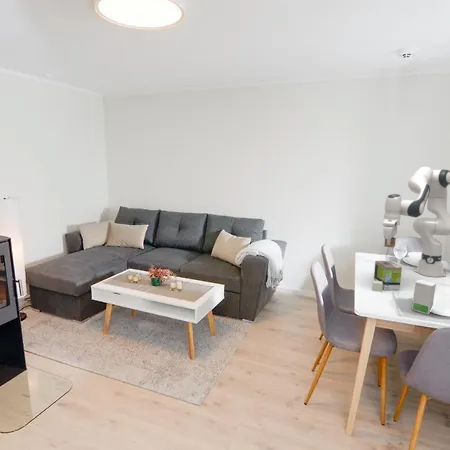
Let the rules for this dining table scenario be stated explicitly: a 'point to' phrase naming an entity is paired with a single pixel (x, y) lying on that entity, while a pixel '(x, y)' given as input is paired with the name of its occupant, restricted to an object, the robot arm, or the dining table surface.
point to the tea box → (388, 274)
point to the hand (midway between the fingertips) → (389, 243)
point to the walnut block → (391, 243)
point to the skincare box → (423, 296)
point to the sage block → (377, 286)
